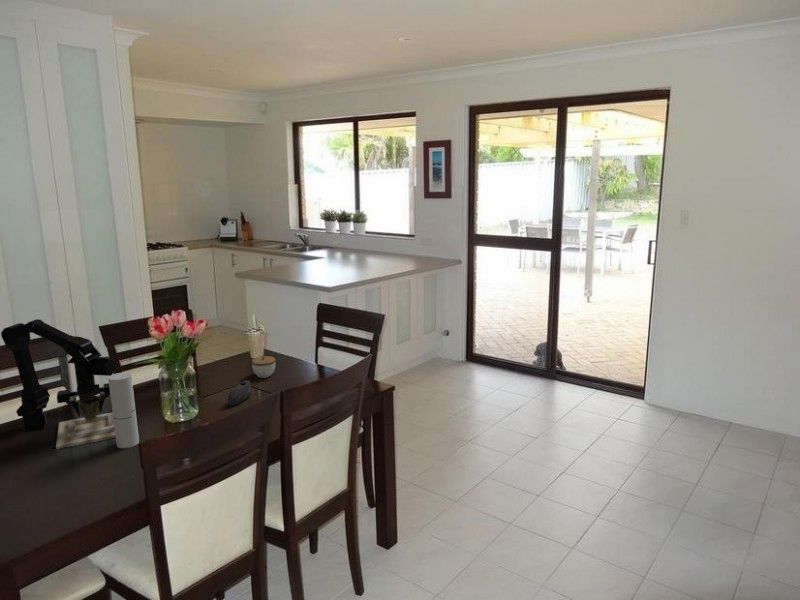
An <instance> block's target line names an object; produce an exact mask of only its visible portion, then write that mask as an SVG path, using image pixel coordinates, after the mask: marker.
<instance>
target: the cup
mask: <svg viewBox="0 0 800 600" xmlns="http://www.w3.org/2000/svg"><path fill="white" fill-rule="evenodd" d="M76 402H77V406H78V409H79V412H80V416H82V418H84V417H85V420H86V421H92V420H94V419H96V415H97V414H99V413H100V410H99V407H100V395H99V396H98V395H95V398H94V399H92V400H84V401H80V400H79V399H77V401H76Z"/></svg>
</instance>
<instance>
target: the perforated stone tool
mask: <svg viewBox="0 0 800 600" xmlns="http://www.w3.org/2000/svg"><path fill="white" fill-rule="evenodd" d="M251 394H252V386H251V381H249V380H247V379H245V380H244V381H241V382H240V383H238V384H237V385H236V386H235V387H233V389H232V390H231V391H230V392H229V394H228V396H227V402H228V405H230V406H236V405H238V404H240V403H242V402H244V401H245V400H246V399H248V398H249V397H250V396H251Z"/></svg>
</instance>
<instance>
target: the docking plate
mask: <svg viewBox="0 0 800 600" xmlns="http://www.w3.org/2000/svg"><path fill="white" fill-rule="evenodd" d="M56 438H57V439H56V443H55V444H56V445H55V448H56V449H55V450H60V449H65V447H66V448H71V447H76V446H80V445H86V444H91V443H95V442H96V443H97V442H101V441H106V440H111V439H116V435H115V428H114V420H113V412H108V413H100V414H98V415H97V414H96V419H94V420H92V421H86V420H85V417H78V418H74V419H68V420H65V421H64V420H63V421H60V422H58V429H57V437H56ZM75 445H76V446H75ZM70 446H71V447H70Z"/></svg>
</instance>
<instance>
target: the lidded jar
mask: <svg viewBox="0 0 800 600" xmlns="http://www.w3.org/2000/svg"><path fill="white" fill-rule="evenodd" d="M251 366H252V367H251V368H252V370H253V371H252V372H253V373H254V374H255V375H256V376H257V377H258V378H262V379H264V378H265V379H266V378H269V376H270V377H271V376H272V375H273V373H274V372H275V370H276V369H275V368H276V358H275V357H274V356H271V355H270V356H269V355H263V356H258V357H255V358H253V359H251Z"/></svg>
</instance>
